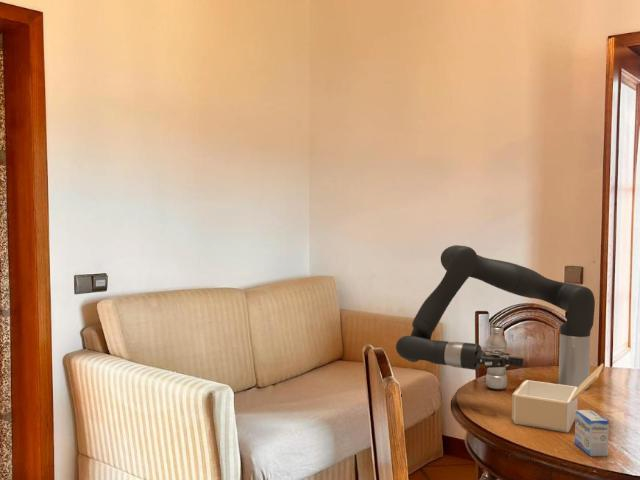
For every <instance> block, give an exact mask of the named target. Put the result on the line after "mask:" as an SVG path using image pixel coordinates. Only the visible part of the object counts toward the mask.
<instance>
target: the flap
mask: <svg viewBox="0 0 640 480" xmlns="http://www.w3.org/2000/svg"><path fill="white" fill-rule="evenodd" d="M603 368H604V363H603V362H602V363H601V364H600V365H599V366H598V367H597V368H596V369H595V370H594V371H593V372H592V373H590V376H589V377H588V378H587V379H586V380H585V381H583V382H582V383H581V384H580V385H579V387H578V389H577V391H576V393H575V394H574V396H573V398H572V401H574V400H575V399H576V398H577V397H578V398H579V396H580V395H581V394H582V393H583V392H584V391H585V390H587V389H586V388H587V387H588V386H589V385H590V386H591V385H592V384H593V383H594V382H595V381H596V380H597V379H598V378H599V376H600V374H601V371H602V369H603ZM590 386H589V387H590Z"/></svg>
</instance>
